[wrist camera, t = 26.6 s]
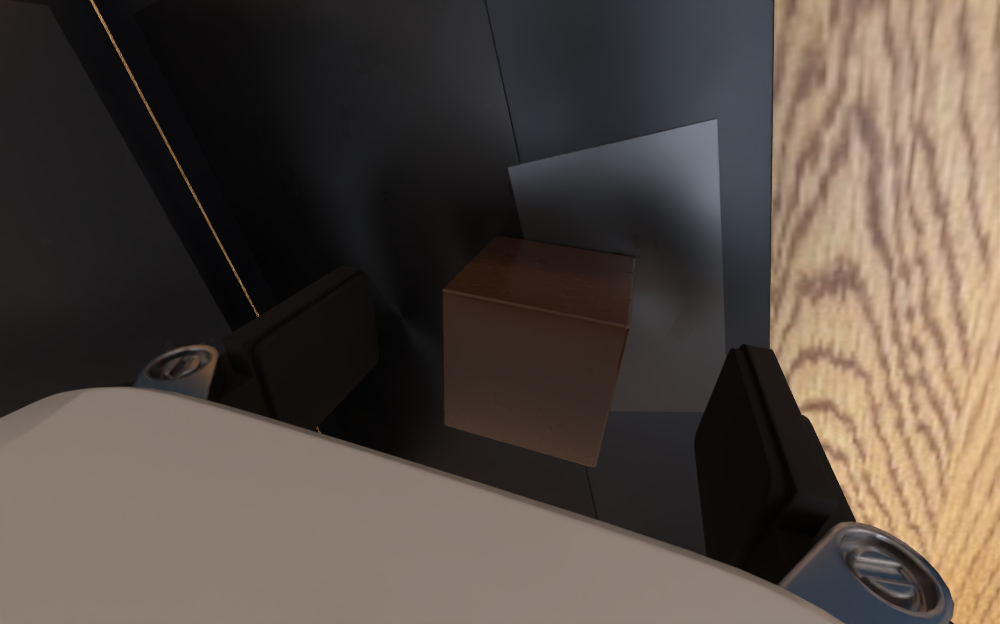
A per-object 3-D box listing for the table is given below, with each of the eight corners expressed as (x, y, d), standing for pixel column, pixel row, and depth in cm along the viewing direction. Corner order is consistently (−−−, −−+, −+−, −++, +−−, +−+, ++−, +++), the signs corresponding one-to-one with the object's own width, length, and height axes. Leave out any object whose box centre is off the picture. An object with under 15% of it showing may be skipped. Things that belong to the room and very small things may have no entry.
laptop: (758, -476, 8) (786, -619, 6) (757, 558, 20) (766, 599, 18) (121, -36, 16) (62, -51, 14) (391, 513, 28) (375, 539, 26)
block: (497, 234, 14) (439, 288, 10) (636, 256, 13) (630, 326, 9) (490, 346, 16) (442, 426, 13) (609, 373, 15) (595, 469, 11)
